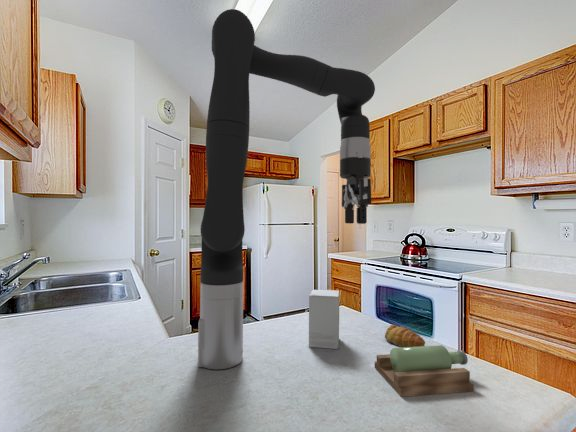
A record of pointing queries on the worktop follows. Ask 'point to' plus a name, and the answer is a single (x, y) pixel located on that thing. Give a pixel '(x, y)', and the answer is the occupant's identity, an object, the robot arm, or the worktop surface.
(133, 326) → the worktop surface
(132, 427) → the worktop surface
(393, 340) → the pastry
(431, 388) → the cradle
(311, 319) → the supplement box
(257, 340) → the worktop surface
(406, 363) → the bottle
